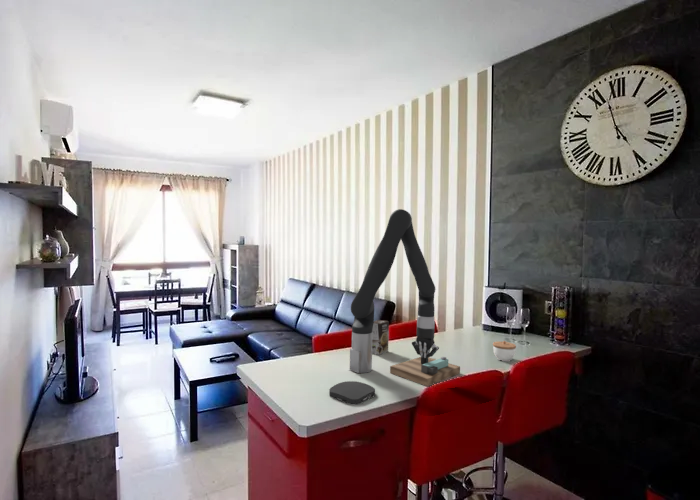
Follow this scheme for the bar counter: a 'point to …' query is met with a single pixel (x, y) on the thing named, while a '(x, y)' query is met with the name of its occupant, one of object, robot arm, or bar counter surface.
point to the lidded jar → (504, 350)
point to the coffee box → (380, 337)
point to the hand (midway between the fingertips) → (424, 365)
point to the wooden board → (414, 373)
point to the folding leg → (435, 364)
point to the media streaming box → (352, 392)
